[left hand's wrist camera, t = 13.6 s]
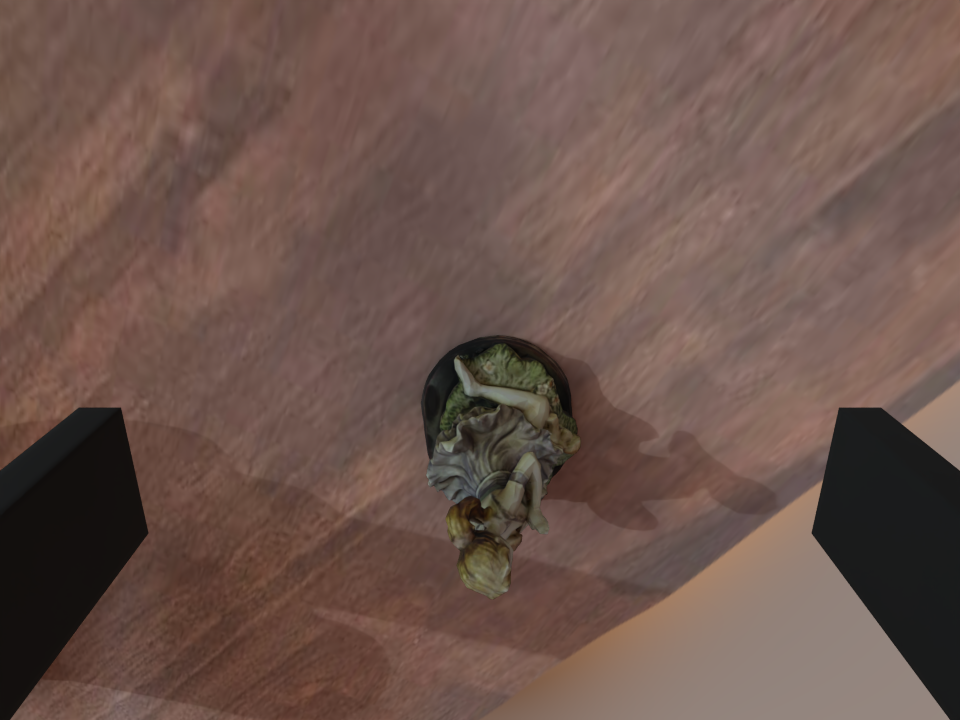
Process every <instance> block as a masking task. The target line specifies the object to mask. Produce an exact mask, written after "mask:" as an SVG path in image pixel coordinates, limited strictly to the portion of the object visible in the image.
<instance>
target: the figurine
mask: <svg viewBox="0 0 960 720" xmlns="http://www.w3.org/2000/svg"><path fill="white" fill-rule="evenodd" d="M421 407H422V415H423V420H424V430H425V437H426V444H427V451H428V455H429V459H430V461H429V465H428V470H427V475H426V476H427V477H428V479H429V482H428V485H429V486H430V487H432V486H435V488H436V490H437V492H438V491H440V490H442V491H443V492H444V494H445V496H446V497H447V499H448V500H453V501H454V502H455V503H456V504H455V505H453V506H452V507H450V509H449V512H448V514H447V516H446V522H447V525H448V535H449V538H450V540H451V542H452V543H453V544H454V545H455V547H456V548H458V549H459V550H460V556H459V560H458V563H457V568H458V571H459V574H460V578H461V580H462V581H463V582H464V584H465V585H466V587H467V588H469V589H471V590H474V591H476V592H478V593H480V594H483V595H486V596H487V597H488V598H489V599H495V598H497V597H498V596H500V595H502V594H504V593H505V592H507V591H508V589H509V586H510V584H511V564H512V559H513V551H515V550H516V548H517V547H518V546H519V544H520V543H521V542H522V535H521V534H520V533H521V532H522V531H523V530H524V529H525V528H526V527H527V526H528V524H529V526H530V527H531V529H532V530H534V529H536V530H537V531H538V532H539V533H540V534H548V531H549V526H548V522H547V520H546V518H545V517H544V516H543V515H542V513H541V510H540V503H541V500H542V499H543V497H544V495H547V485H548V484H549V482H550V480H551V478H552V477H553V476H554V475H555V474H556V473H557V472H558V471H559V470H560V469H561V467H562V465H563V464H564V462H565V461H566V460H568V459H569V458H570V457H571V456H573V455H574V454H575V453H577V452H578V450H579V449H580V445H581V440H580V437H579V436H578V435H577V425H576V421H575V419H574V418H572V407H571V394H570V389H569V385H568V381H567V378H566V376H565V374H564V373H563V371H562V369H561V368H560V367H559V366H558V364H557V363H556V362H555V361H554V360H553V359H551V358H550V357H549V356H548V355H547V354H546V353H544V352H543V351H542V350H541V349H539V348H538V347H536V346H534V345H532V344H531V343H528V342H526V341H523V340H520V339H516V338H512V337H506V336H499V335H497V336H489V337H480V338H477V339H475V340H472V341H469V342H467V343H464V344H461V345H459V346H457V347H456V348H454V349H452V350H451V351H449V352H448V353H447V354H446V355H445V356H444V357H443V358H442V359H441V360H440V361H439V362H438V364H437V365H436V366H435V367H434V369H433V370H432V371H431V373H430V374H429V376H428V378H427V381H426V384H425V387H424V390H423V395H422V401H421Z"/></svg>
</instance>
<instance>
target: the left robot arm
mask: <svg viewBox="0 0 960 720" xmlns="http://www.w3.org/2000/svg"><path fill="white" fill-rule="evenodd" d="M147 534H148V529H147V525H146V520H145V515H144V511H143V506H142V502H141V497H140V493H139V488H138V483H137V479H136V474H135V470H134V465H133V461H132V456H131V451H130V447H129V442H128V438H127V433H126V429H125V424H124V419H123V415H122V410H121V408H78V409H77V410H75V411H74V412H73V413H72V414H71V415H69V416H68V417H67V418H66V419H64V420H63V421H62V422H61V423H59V424H58V425H57V426H56V427H54V428H53V429H52V430H51V431H49V432H48V433H47V434H46V435H44V436H43V437H42V438H41V439H39V440H38V441H37V442H36V443H34V444H33V445H32V446H31V447H29V448H28V449H27V450H26V451H24V452H23V453H22V454H21V455H19V456H18V457H17V458H16V459H14V460H13V461H12V462H11V463H9V464H8V465H7V466H6V467H4V468H3V469H2V470H1V471H0V720H10V719H11V718H12V716H13V715H14V714H15V712H16V711H17V710H18V708H19V707H20V706H21V704H22V703H23V701H24V700H25V699H26V697H27V696H28V695H29V693H30V692H31V691H32V689H33V688H34V687H35V685H36V684H37V683H38V681H39V680H40V679H41V677H42V676H43V675H44V673H45V672H46V671H47V669H48V668H49V666H50V665H51V664H52V662H53V661H54V660H55V658H56V657H57V656H58V654H59V653H60V652H61V650H62V649H63V648H64V646H65V645H66V644H67V642H68V641H69V640H70V638H71V637H72V635H73V634H74V633H75V631H76V630H77V629H78V627H79V626H80V625H81V623H82V622H83V621H84V619H85V618H86V617H87V615H88V614H89V613H90V611H91V610H92V609H93V607H94V606H95V605H96V603H97V602H98V600H99V599H100V598H101V596H102V595H103V594H104V592H105V591H106V590H107V588H108V587H109V586H110V584H111V583H112V582H113V580H114V579H115V578H116V576H117V575H118V574H119V572H120V571H121V570H122V568H123V567H124V565H125V564H126V563H127V561H128V560H129V559H130V557H131V556H132V555H133V553H134V552H135V551H136V549H137V548H138V547H139V545H140V544H141V543H142V541H143V540H144V539H145V537H146V536H147ZM812 534H813V536H814V537H815V539H816V540H817V541H818V543H819V544H820V545H821V547H822V548H823V549H824V551H825V552H826V553H827V555H828V556H829V557H830V559H831V560H832V561H833V563H834V564H835V565H836V567H837V568H838V569H839V571H840V572H841V574H842V575H843V576H844V578H845V579H846V580H847V582H848V583H849V584H850V586H851V587H852V588H853V590H854V591H855V592H856V594H857V595H858V596H859V598H860V599H861V600H862V602H863V603H864V605H865V606H866V607H867V609H868V610H869V611H870V613H871V614H872V615H873V617H874V618H875V619H876V621H877V622H878V623H879V625H880V626H881V627H882V629H883V630H884V631H885V633H886V634H887V635H888V637H889V638H890V640H891V641H892V642H893V644H894V645H895V646H896V648H897V649H898V650H899V652H900V653H901V654H902V656H903V657H904V658H905V660H906V661H907V662H908V664H909V665H910V666H911V668H912V669H913V670H914V672H915V673H916V675H917V676H918V677H919V679H920V680H921V681H922V683H923V684H924V685H925V687H926V688H927V689H928V691H929V692H930V693H931V695H932V696H933V697H934V699H935V700H936V701H937V703H938V704H939V706H940V707H941V708H942V710H943V711H944V712H945V714H946V715H947V716H948V718H949V719H950V720H960V471H959V470H958V469H957V468H956V467H954V466H953V465H952V464H951V463H949V462H948V461H947V460H946V459H944V458H943V457H942V456H941V455H939V454H938V453H937V452H936V451H934V450H933V449H932V448H931V447H929V446H928V445H927V444H926V443H924V442H923V441H922V440H921V439H919V438H918V437H917V436H916V435H914V434H913V433H912V432H911V431H909V430H908V429H907V428H906V427H904V426H903V425H902V424H901V423H899V422H898V421H897V420H896V419H894V418H893V417H892V416H891V415H889V414H888V413H887V412H886V411H884V410H883V409H882V408H839V410H838V415H837V419H836V424H835V429H834V433H833V438H832V442H831V447H830V451H829V456H828V461H827V465H826V470H825V474H824V479H823V483H822V488H821V493H820V497H819V502H818V506H817V511H816V516H815V520H814V525H813V529H812Z"/></svg>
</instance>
